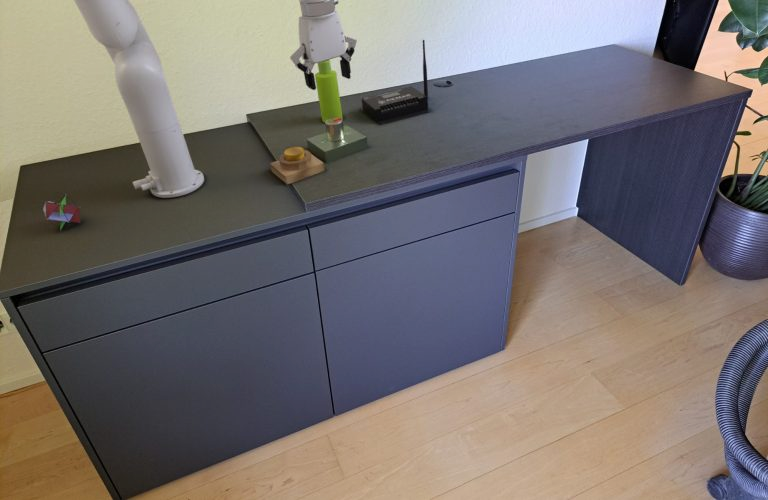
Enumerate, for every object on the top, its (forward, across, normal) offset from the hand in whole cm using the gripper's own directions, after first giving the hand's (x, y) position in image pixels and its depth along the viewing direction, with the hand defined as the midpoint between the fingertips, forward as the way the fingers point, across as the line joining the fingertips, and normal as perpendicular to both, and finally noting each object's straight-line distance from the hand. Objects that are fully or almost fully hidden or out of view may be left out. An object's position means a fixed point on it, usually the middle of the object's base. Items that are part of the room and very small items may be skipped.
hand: (329, 82), depth 135 cm
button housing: (+16, +15, +5) cm, 23 cm away
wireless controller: (+17, -26, -8) cm, 32 cm away
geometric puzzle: (+16, +65, -9) cm, 68 cm away
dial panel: (+17, +1, +1) cm, 17 cm away
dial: (+14, +1, +1) cm, 14 cm away
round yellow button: (+13, +15, +5) cm, 20 cm away
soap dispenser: (+17, -8, -16) cm, 25 cm away
